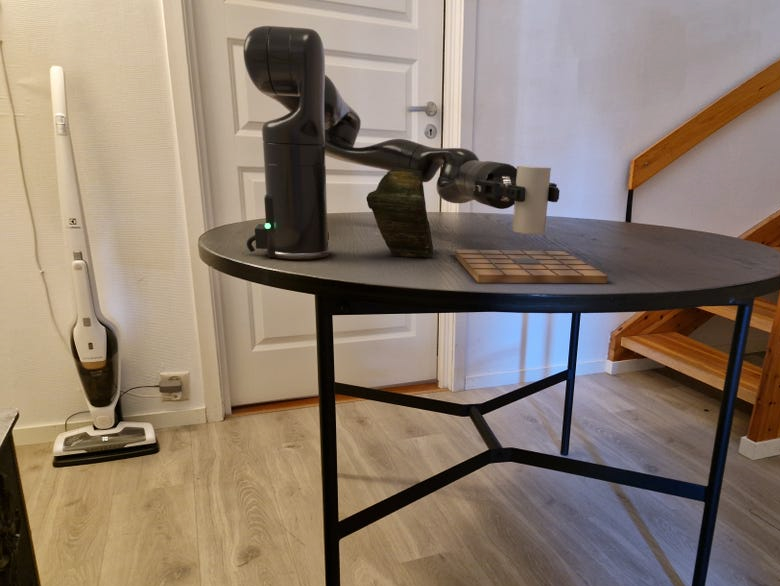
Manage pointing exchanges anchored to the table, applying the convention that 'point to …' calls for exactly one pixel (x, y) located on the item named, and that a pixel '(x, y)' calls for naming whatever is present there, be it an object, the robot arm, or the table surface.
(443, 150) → the robot arm
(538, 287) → the table surface
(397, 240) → the rock
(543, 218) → the white tin can
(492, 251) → the board
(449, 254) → the table surface
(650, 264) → the table surface
